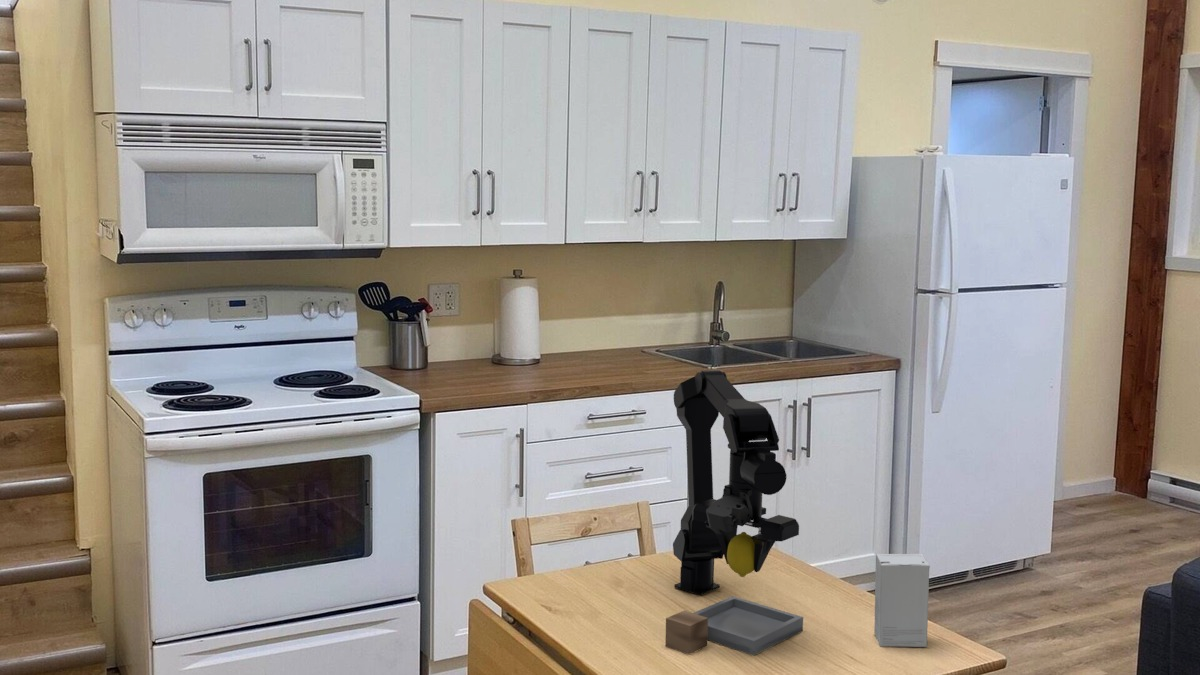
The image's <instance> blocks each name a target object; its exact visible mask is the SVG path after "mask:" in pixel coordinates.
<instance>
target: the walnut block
mask: <svg viewBox="0 0 1200 675" xmlns="http://www.w3.org/2000/svg"><path fill="white" fill-rule="evenodd" d="M707 635H708V618H707V617H704V616H700V615H697V614H694V612H692V611H691V612H690V611H689V610H688V611H687V610H682V611H679V612H678V613H675V614H673V615H669V616H667V617H666V618H665V647H666V648H670V649H672V650H675V651H678V652H682V653H684V654H687V655H691V654H693V653H695V652H697V651H700V650H702V649H704V648H706V647H707V646H708V640H707ZM699 649H700V650H699Z"/></svg>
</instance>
